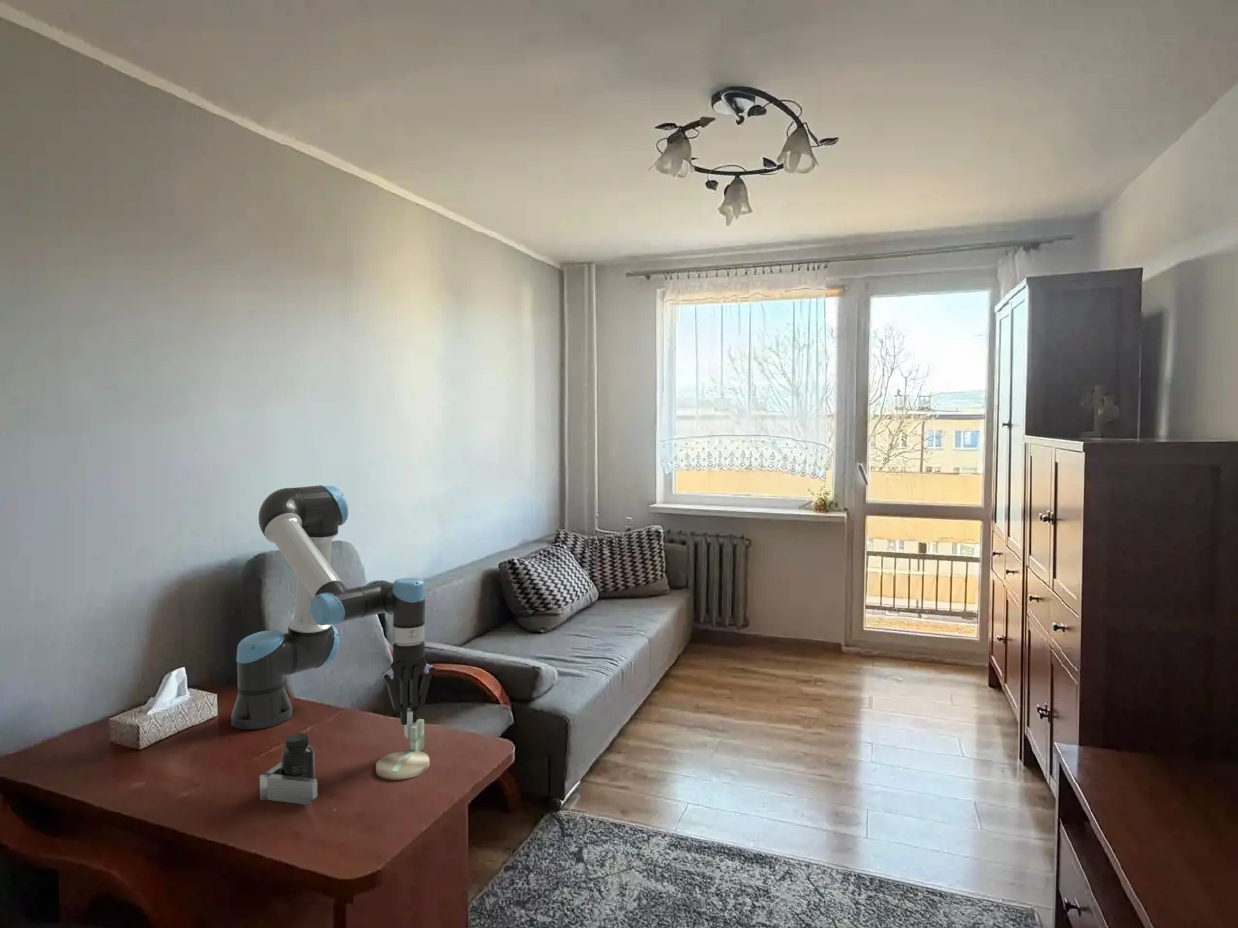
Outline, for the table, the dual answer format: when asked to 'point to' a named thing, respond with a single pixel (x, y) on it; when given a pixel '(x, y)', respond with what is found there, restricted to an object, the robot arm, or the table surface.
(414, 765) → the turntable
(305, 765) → the supplement bottle
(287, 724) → the table surface
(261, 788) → the vee block
